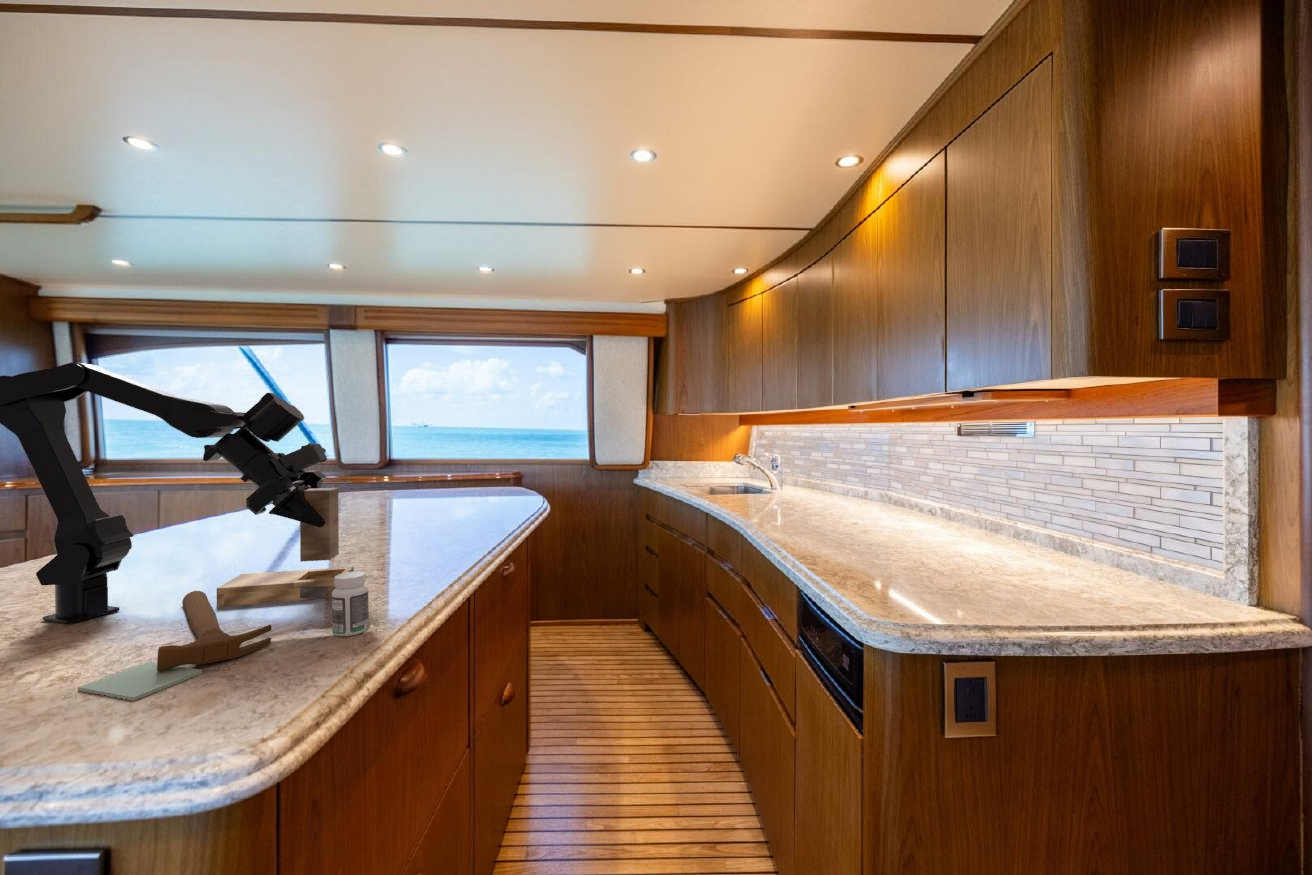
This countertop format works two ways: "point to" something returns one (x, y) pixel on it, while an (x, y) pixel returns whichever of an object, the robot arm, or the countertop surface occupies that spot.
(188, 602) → the hammer
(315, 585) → the slotted wooden slab
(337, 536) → the brown wooden block
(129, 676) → the rubber mat
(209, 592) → the countertop surface
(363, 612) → the pill bottle
